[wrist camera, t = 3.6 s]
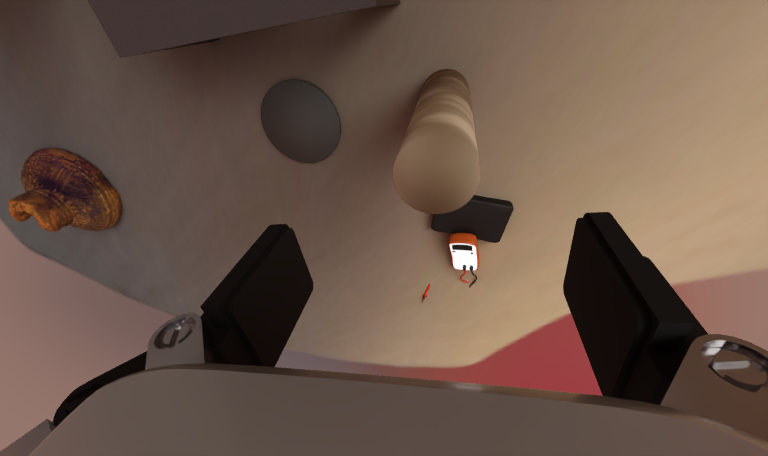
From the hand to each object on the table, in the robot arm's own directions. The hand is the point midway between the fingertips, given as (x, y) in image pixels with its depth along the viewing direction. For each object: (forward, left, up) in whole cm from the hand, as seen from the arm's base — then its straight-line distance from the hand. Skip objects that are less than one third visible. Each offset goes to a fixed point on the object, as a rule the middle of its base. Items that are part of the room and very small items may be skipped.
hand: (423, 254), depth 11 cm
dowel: (0, 0, -21) cm, 21 cm away
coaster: (+14, +1, -21) cm, 25 cm away
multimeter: (-2, +19, -22) cm, 29 cm away
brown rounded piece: (+48, +6, -22) cm, 53 cm away
